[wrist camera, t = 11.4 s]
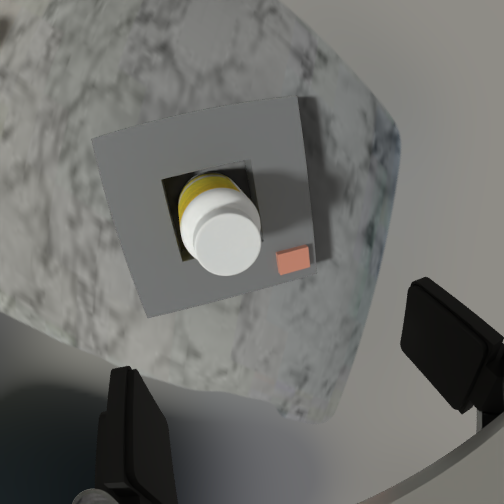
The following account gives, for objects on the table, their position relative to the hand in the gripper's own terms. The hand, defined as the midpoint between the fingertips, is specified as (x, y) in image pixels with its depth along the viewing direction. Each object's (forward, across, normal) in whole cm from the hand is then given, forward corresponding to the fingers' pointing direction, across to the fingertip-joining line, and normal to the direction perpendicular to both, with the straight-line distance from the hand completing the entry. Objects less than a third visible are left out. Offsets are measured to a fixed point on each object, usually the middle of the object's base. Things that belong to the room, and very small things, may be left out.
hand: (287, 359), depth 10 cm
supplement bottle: (+20, 0, 0) cm, 20 cm away
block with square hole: (+20, 0, 0) cm, 20 cm away
